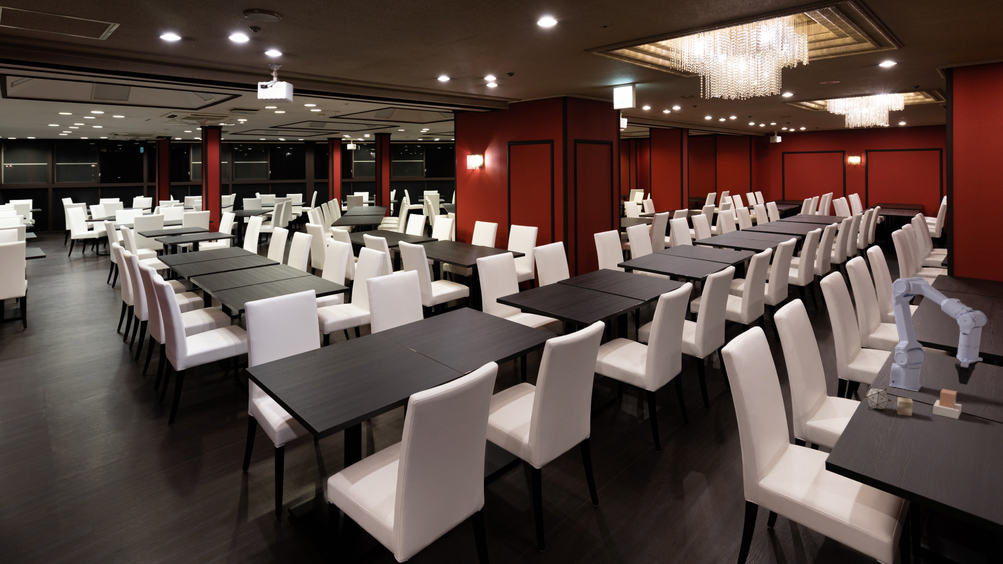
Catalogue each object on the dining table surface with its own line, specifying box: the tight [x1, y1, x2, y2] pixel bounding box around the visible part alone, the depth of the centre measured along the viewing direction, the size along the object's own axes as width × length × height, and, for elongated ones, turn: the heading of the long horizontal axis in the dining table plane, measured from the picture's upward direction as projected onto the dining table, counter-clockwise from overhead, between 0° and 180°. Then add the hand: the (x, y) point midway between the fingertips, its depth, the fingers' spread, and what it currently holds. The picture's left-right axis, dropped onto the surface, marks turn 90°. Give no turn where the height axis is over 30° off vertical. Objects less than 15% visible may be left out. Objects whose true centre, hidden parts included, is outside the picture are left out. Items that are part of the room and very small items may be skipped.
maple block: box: [896, 396, 914, 417], centre depth 199 cm, size 4×4×5 cm
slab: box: [932, 399, 963, 420], centre depth 198 cm, size 7×7×3 cm
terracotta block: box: [939, 388, 958, 408], centre depth 197 cm, size 4×4×5 cm
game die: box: [863, 385, 893, 412], centre depth 203 cm, size 9×8×10 cm
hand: (964, 380), depth 201 cm, fingers open, 7 cm apart
